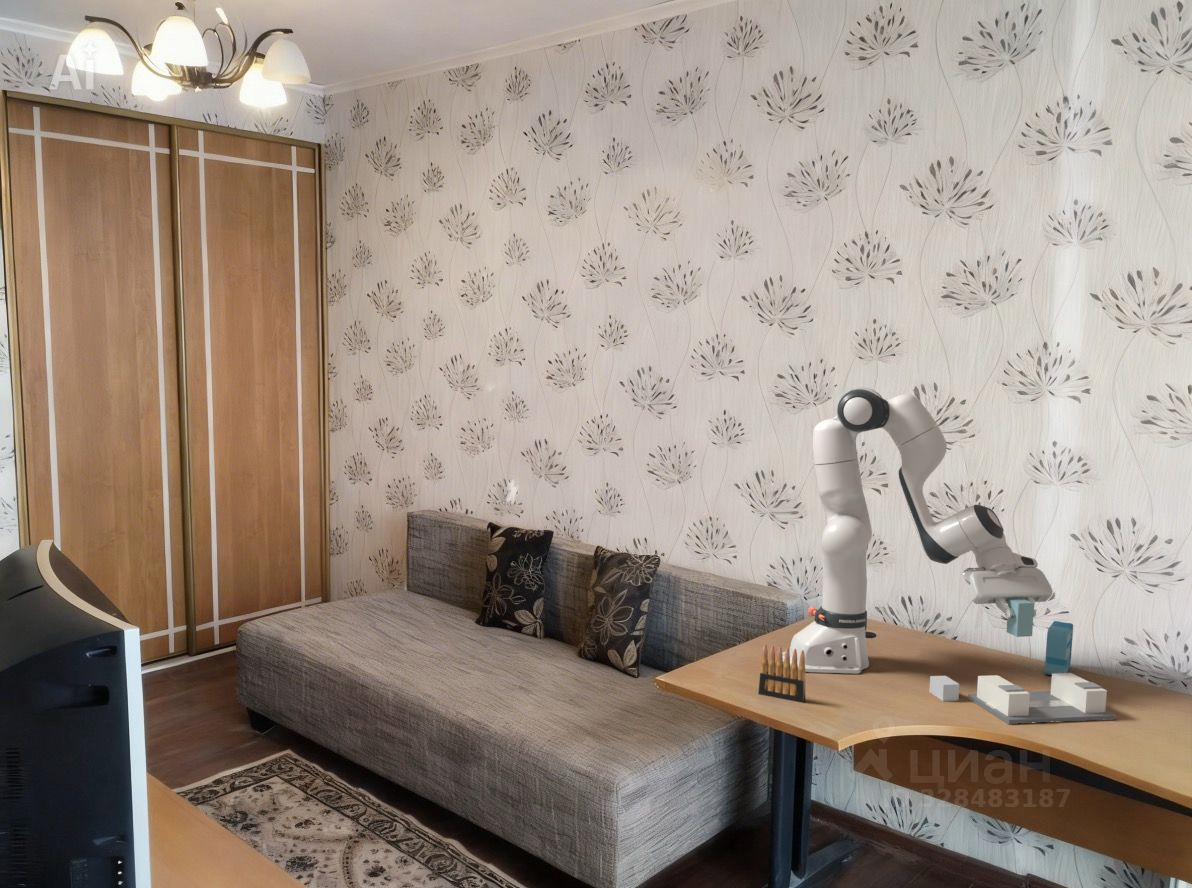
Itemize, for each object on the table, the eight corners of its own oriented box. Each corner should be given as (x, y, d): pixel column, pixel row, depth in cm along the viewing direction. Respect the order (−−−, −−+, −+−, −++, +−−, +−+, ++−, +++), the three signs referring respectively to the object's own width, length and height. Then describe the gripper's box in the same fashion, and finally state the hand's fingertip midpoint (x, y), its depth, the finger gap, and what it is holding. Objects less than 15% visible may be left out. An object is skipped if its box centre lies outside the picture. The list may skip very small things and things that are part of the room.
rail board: (1008, 724, 202) (1009, 719, 202) (967, 698, 217) (968, 693, 217) (1115, 719, 206) (1115, 714, 206) (1067, 694, 222) (1067, 689, 222)
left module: (1007, 716, 204) (1009, 692, 203) (976, 696, 215) (978, 674, 215) (1028, 715, 205) (1030, 691, 204) (996, 696, 216) (997, 673, 216)
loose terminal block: (942, 701, 215) (943, 684, 215) (929, 692, 221) (930, 676, 221) (958, 701, 216) (959, 684, 215) (944, 691, 222) (945, 675, 221)
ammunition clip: (805, 700, 213) (807, 649, 212) (803, 702, 212) (805, 651, 211) (760, 691, 218) (762, 642, 217) (758, 694, 217) (760, 644, 216)
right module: (1085, 713, 207) (1086, 689, 206) (1050, 694, 219) (1052, 671, 218) (1105, 712, 208) (1106, 688, 207) (1069, 693, 219) (1071, 671, 219)
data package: (1063, 679, 233) (1067, 632, 232) (1044, 675, 235) (1047, 629, 234) (1070, 667, 243) (1073, 622, 242) (1051, 663, 245) (1054, 619, 244)
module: (1016, 636, 218) (1018, 603, 217) (1006, 632, 222) (1008, 599, 221) (1032, 636, 219) (1033, 603, 218) (1021, 631, 223) (1023, 598, 222)
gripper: (966, 561, 224) (988, 611, 215) (1041, 559, 228) (1066, 608, 219) (955, 575, 229) (976, 625, 220) (1029, 573, 232) (1053, 621, 224)
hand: (1022, 616), depth 219 cm, fingers closed on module, 4 cm apart
